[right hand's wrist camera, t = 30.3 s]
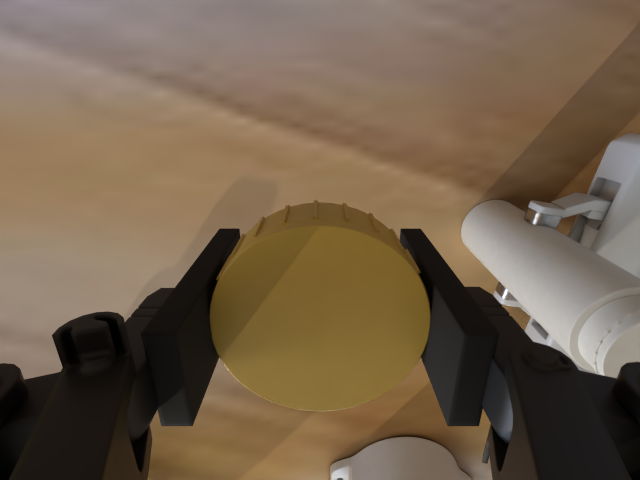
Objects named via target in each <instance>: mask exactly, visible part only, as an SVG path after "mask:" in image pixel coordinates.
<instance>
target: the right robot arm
mask: <svg viewBox="0 0 640 480" xmlns="http://www.w3.org/2000/svg"><path fill="white" fill-rule="evenodd" d="M239 239H240V231H239V229H219V230H218V232H217V233H216V234H215V236H214V237H213V238H212V240H211V241H210V242H209V244H208V245H207V246H206V248H205V249H204V250H203V252H202V253H201V254H200V256H199V257H198V258H197V259H196V261H195V262H194V263H193V265H192V266H191V267H190V269H189V270H188V271H187V273H186V274H185V275H184V277H183V278H182V279H181V281H180V282H179V283H178V285H177V286H176V287H175V288H161V289H159V290H157V291H156V292H154V293H152V294H151V295H149V296H147V298H146V299H145V300H144V301H143V302H142V303H141V304H140V306H139V308H138V309H136V310H135V311H134V313H133V314H132V315H131V317H129V318H128V320H127V321H126V322H124V318H123V317H122V316H121V315H119V314H118V313H113V312H96V313H92V314H88V315H83V316H81V317H78V318H76V319H73V320H71V321H69V322H67V323H66V324H64V325H63V326H61V327H59V328H58V329H57V330H56V332H55V333H54V334H53V335H52V337H53V340H54V343H55V346H56V349H57V352H58V355H59V357H60V360H61V363H62V366H63V368H62V370H61V372H58V373H54V374H49V375H45V376H40V377H35V378H30V379H26V380H24V378H23V375H22V373H21V370H20V368H18V367H17V366H16V365H14V364H5V363H2V364H0V480H147V479H148V471H149V462H150V454H151V446H152V435H151V429H150V425H149V424H150V423H151V421H152V419H153V417H154V415H155V413H156V411H157V409H158V413H159V417H160V422H161V426H193V423H194V421H195V418H196V416H197V413H198V410H199V408H200V405H201V403H202V400H203V398H204V395H205V392H206V390H207V387H208V385H209V382H210V379H211V377H212V374H213V372H214V369H215V367H216V364H217V361H218V359H219V355H218V353H217V351H216V348H215V346H214V343H213V340H212V333H211V326H210V318H209V313H210V304H211V300H212V295H213V292H214V290H215V287H216V285H217V282H218V280H216V279H217V277H218V275H219V273H220V271H221V270H222V268H223V266H224V264H225V263H226V261H227V259H228V257H229V256H230V255H231V254H232V252H233V250H234V248H235V246H236V245H237V243H238V241H239ZM400 243H401V244H402V246H403V247H404V249H405V250H406V249H408V251H409V253H410V254H411V256H412V258H413V260H414V261H415V263H416V265H417V267H418V268H419V270H420V272H421V273H419V276H420V278H421V280H422V282H423V284H424V287H425V289H426V292H427V294H428V299H429V303H430V311H431V320H430V328H429V335H428V340H427V343H426V346H425V349H424V351H423V353H422V355H421V358H422V361H423V363H424V366H425V369H426V371H427V374H428V376H429V379H430V381H431V384H432V387H433V389H434V392H435V394H436V397H437V400H438V402H439V405H440V407H441V410H442V412H443V415H444V418H445V420H446V423H447V425H448V426H479V423H480V418H481V414H482V409H484V411H485V413H486V414H487V416H488V418H489V420H490V422H491V425H490V429H489V433H488V438H487V442H486V446H485V450H484V454H483V461H482V462H483V463H488V459H489V455H490V461H491V470H492V478H493V480H640V362H630V363H626V364H625V365H623V366H622V367H621V369H620V371H619V374H618V376H617V378H613V377H608V376H603V375H599V374H594V373H589V372H584V371H581V370H578V368H577V366H576V365H575V364H574V362H573V361H572V360H571V359H570V358H569V357H568V356H566V355H565V354H564V353H562V352H561V351H559V350H557V349H554V348H552V347H550V346H548V345H544V344H541V343H537V342H533V341H532V339H531V338H530V337H529V336H528V335H527V334H526V333H525V331H524V330H523V329H522V328H521V327H520V326H519V325H518V323H517V322H516V321H515V320H514V319H513V318H512V316H509V313H508V312H507V311H506V310H505V308H504V307H502V305H501V304H500V303H499V302H498V300H497V299H496V298H495V297H494V296H493V295H492V294H490V293H488V292H487V291H485V290H483V289H482V288H480V287H464V286H463V284H462V283H461V282H460V280H459V279H458V278H457V276H456V275H455V274H454V272H453V271H452V270H451V268H450V267H449V266H448V264H447V263H446V262H445V260H444V259H443V258H442V257H441V255H440V254H439V253H438V251H437V250H436V249H435V247H434V246H433V245H432V243H431V242H430V241H429V239H428V238H427V237H426V235H425V234H424V233H423V231H422V230H421V229H401V233H400Z"/></svg>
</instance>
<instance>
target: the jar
mask: <svg viewBox="0 0 640 480" xmlns="http://www.w3.org/2000/svg"><path fill="white" fill-rule="evenodd" d="M525 214H526V212H524V211H523V210H521V209H519V208H518V207H516V206H514V205H512V204H511V203H509V202H507V201H503V200H489V201H485V202H483V203H481V204H479V205H477V206H476V207H474V208H473V209H472V210H471V211H470V212H469V213H468V214H467V216H466V217H465V219H464V221H463V224H462V228H461V236H462V240H463V242H464V244H465V245H466V247H467V248H468V249H469V250H470V251H471V252H472V253H473V254H474V255H475V256H476V257H477V258H478V259H479V260H480V261H481V262H482V264H483V265H484V266H485V267H486V268H487V269H488V270H489V271H490V272H491V273H492V274H493V275H494V276H495V277H496V278H497V279H498V280H499V282H500V283H501V284H502V285H503V286H504V287H505V288H506V289H507V290H508V291H509V292H510V293H511V294H512V295H513V296H514V297H515V298H516V299H517V301H518V302H519V303H520V304H521V305H522V306H523V307H524V308H525V309H526V310H527V311H528V312H529V313H530V314H531V315H532V316H533V317H534V319H535V320H536V321H537V322H538V323H539V324H540V325H541V326H542V327H543V328H544V329H545V330H546V331H547V332H548V333H549V334H550V335H551V337H552V338H553V339H554V340H555V341H556V342H557V343H558V344H559V345H560V346H561V347H562V348H563V349H564V350H565V351H566V352H567V353H568V355H569V356H570V357H571V358H572V359H573V360H574V361H575V362H576V363H577V364H578V365H580V366H581V367H583V368H585V369H587V370H589V371H592V372H596V373H597V374H599V375H603V376H608V377H613V378H617V376H618V374H619V371H620V369H621V367H622V366H623V365H625V364H626V363H630V362H640V278H638V277H636V276H635V275H633V274H631V273H630V272H628V271H626V270H624V269H623V268H621V267H619V266H618V265H616V264H614V263H612V262H611V261H609V260H607V259H605V258H604V257H602V256H600V255H599V254H597V253H595V252H593V251H592V250H590V249H588V248H586V247H585V246H583V245H581V244H580V243H578V242H576V241H574V240H573V239H571V238H569V237H568V236H566V235H564V234H562V233H561V232H559V231H557V230H555V229H554V228H551V227H547V226H546V225H544V226H538V225H534V224H532V223H530V222H529V221H528V220H525V219H524V217H525Z"/></svg>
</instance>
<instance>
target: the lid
mask: <svg viewBox="0 0 640 480" xmlns="http://www.w3.org/2000/svg"><path fill="white" fill-rule="evenodd" d="M419 273H421V272H420V270H419V268H418V267H417V265H416V263H415V261H414V260H413V258H412V256H411V254H410V253H409V251H408V249H406V250H405V249H404V247H403V246H402V244H401V243H400V241H399V239H398V237H397V235H396V234H395V232H394V230H393V229H390V230H389V229H388V228H387V227H386V226H385V225H384V224H382V223H381V222H380V221H378V220H377V219H375V218H374V216H373V214H372V213H369V214H366V213H364V212H362V211H360V210H358V209H355V208H351V207H348V206H347V204H346V203H343V205H339V204H333V203H318V201H314V203H307V204H301V205H296V206H292V207H290V206H289V205H287V206H286V207H285V209H283V210H280V211H278V212H276V213H274V214H272V215H270V216H268V217H266V218H264V217H262V218H261V219H260V221H259V223H258V224H256V225H255V226H254V227H253V228H252V229H251V230H250V231H249V232H248V233H247V234H246V235H244V234H243V235H242V236H241V238H240V239H239V241H238V243H237V245H236V246H235V248H234V250H233V252H232V254H231V255H230V256H229V257H228V259H227V261H226V263H225V264H224V266H223V268H222V270H221V271H220V273H219V275H218V277H217V279H216V280H218V282H217V285H216V287H215V290H214V292H213V295H212V300H211V304H210V313H209V318H210V326H211V333H212V340H213V343H214V346H215V348H216V351H217V353H218V355H219V357H220V359H221V360H222V362H223V364H224V365H225V366H226V368H227V369H228V370H229V372H230V373H231V374H232V375H233V376H234V377H235V378H236V379H237V380H238V381H239V382H240V383H241V384H243V385H244V386H245V387H246V388H248V389H249V390H250V391H252V392H254V393H255V394H257V395H259V396H260V397H262V398H264V399H267V400H269V401H271V402H273V403H276V404H279V405H282V406H285V407H290V408H294V409H299V410H307V411H334V410H341V409H347V408H351V407H354V406H358V405H361V404H364V403H367V402H369V401H372V400H374V399H376V398H378V397H380V396H382V395H383V394H385V393H386V392H388V391H390V390H391V389H393V388H394V387H395V386H396V385H398V384H399V383H400V382H401V381H402V380H403V379H404V378H405V377H406V376H407V375H408V374H409V373H410V372H411V371H412V369H413V368H414V367H415V365H416V364H417V362H418V361H419V359H420V357H421V355H422V353H423V351H424V349H425V346H426V343H427V340H428V335H429V328H430V320H431V311H430V303H429V299H428V294H427V292H426V289H425V287H424V284H423V282H422V280H421V278H420V276H419Z"/></svg>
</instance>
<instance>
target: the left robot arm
mask: <svg viewBox="0 0 640 480" xmlns="http://www.w3.org/2000/svg"><path fill="white" fill-rule="evenodd" d="M576 214H577V216H576V218H575V220H574V223H573V225H572V227H571V229H570V231H569V234H568V237H569V238H571V239H573V240H574V241H576V242H578V243H580V244H581V245H583V246H585V247H586V248H588V249H590V250H592V251H593V252H595V253H597V254H599V255H600V256H602V257H604V258H605V259H607V260H609V261H611V262H612V263H614V264H616V265H618V266H619V267H621V268H623V269H624V270H626V271H628V272H630V273H631V274H633V275H635V276H636V277H638V278H640V134H639V133H627V134H625V135H623V136H621V137H619V138H617V139H615V140H613V141H611V142H610V144H609V145H608V147H607V149H606V151H605V154H604V156H603V158H602V160H601V163H600V165H599V167H598V169H597V171H596V174H595V176H594V178H593V180H592V183H591V185H590V187H589V189H588V191H587V194H583V193H577V192H576V193H573V194H570V195H568V196H565V197H562V198H560V199H557V200H554V201H552V202H551V203H546V202H540V201H534V200H531V201H530V204H529V206H528V209H527V211H526V214H525V217H524V219H525V220H528V221H529V222H530V223H532V224H534V225H538V226H544V225H546V226H547V227H551V228H557V226H558V224H559V222H560V220H561V218H565V217H569V216H572V215H576ZM494 297H495V298H496V299H497V300H498V301H499V302H500V303H501V304H503V305H507V306H514V307H520V308H521V309H522V310H524V311H525V312H526V313H527V314H528V315H530V316H531V318H530V320H529V322H528V325H527V327H526V329H525V333H526V334H527V335H528V336H529V337H530V338H531V339H532V341H533V342H537V343H541V344H544V345H548V346H550V347H552V348H554V349H557V350H559V351H561V352H562V353H564V354H565V355H566V356H568V357H569V358H570V359H571V360H572V361H573V362H574V364H575V365H576V366H577V368H578V370H581V371H584V372H589V373H594V374H597V373H596V372H592V371H589V370H587V369H585V368H583V367H581V366H580V365H578V364H577V363H576V362H575V361H574V360H573V359H572V358H571V357H570V356H569V355H568V353H567V352H566V351H565V350H564V349H563V348H562V347H561V346H560V345H559V344H558V343H557V342H556V341H555V340H554V339H553V338H552V337H551V335H550V334H549V333H548V332H547V331H546V330H545V329H544V328H543V327H542V326H541V325H540V324H539V323H538V322H537V321H536V320H535V319H534V317H533V316H532V315H531V314H530V313H529V312H528V311H527V310H526V309H525V308H524V307H523V306H522V305H521V304H520V303H519V302H518V301H517V299H516V298H515V297H514V296H513V295H512V294H511V293H510V292H509V291H508V290H507V289H506V288H505V287H504V286H503V285H502V284H501V283H500V282H498V285H497V287H496V290H495V292H494ZM330 480H472V479H471V478H470V477H469V476H468V475H467V474H466V473H464V472H463V471H461V470H460V469H459V467H458V465H457V463H456V461H455V459H454V457H453V456H452V454H451V453H450V452H449V451H448V450H447V449H445V448H444V447H443V446H441V445H439V444H437V443H435V442H433V441H430V440H427V439H423V438H417V437H396V438H390V439H385V440H382V441H379V442H376V443H374V444H371V445H369V446H368V447H366V448H364V449H363V450H361V451H360V452H359V453H357V454H356V455H354V456H352V457H350V458H346V459H343V460H340V461H337V462H335V463H333V464H332V465H331V466H330Z"/></svg>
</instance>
